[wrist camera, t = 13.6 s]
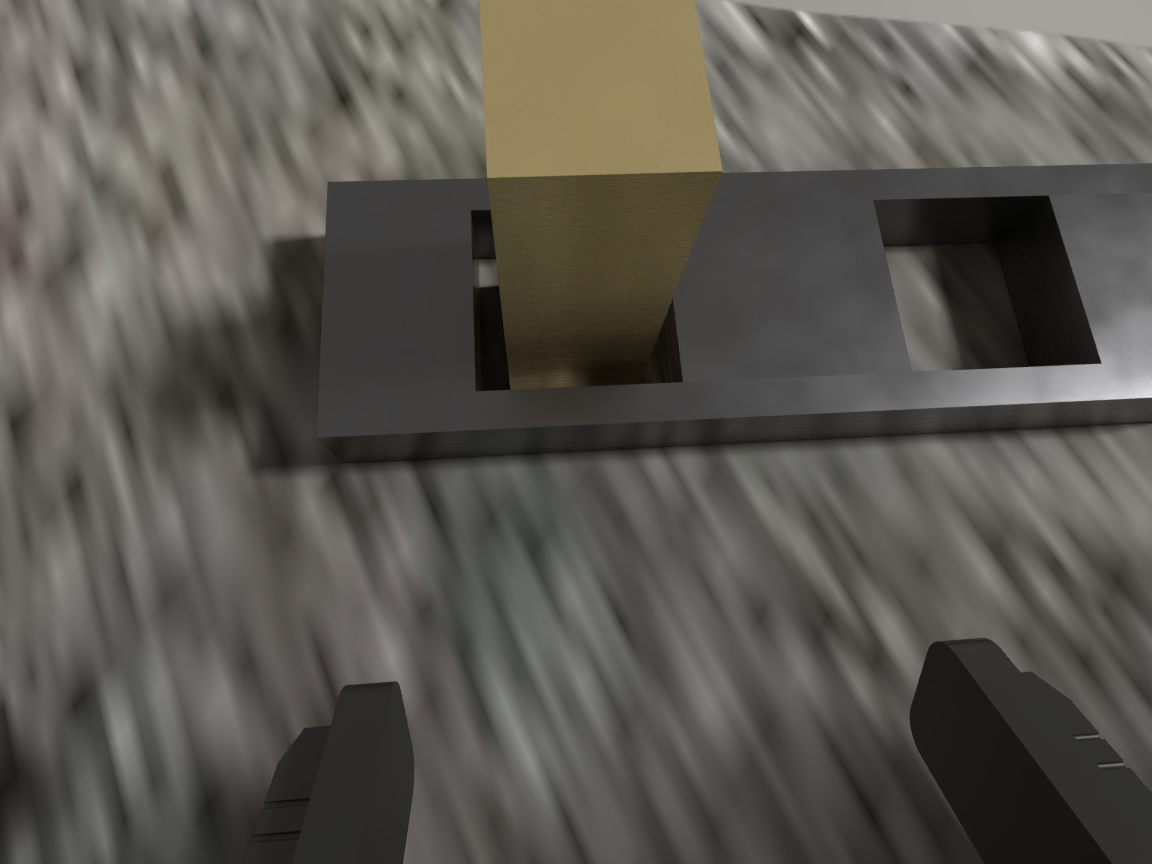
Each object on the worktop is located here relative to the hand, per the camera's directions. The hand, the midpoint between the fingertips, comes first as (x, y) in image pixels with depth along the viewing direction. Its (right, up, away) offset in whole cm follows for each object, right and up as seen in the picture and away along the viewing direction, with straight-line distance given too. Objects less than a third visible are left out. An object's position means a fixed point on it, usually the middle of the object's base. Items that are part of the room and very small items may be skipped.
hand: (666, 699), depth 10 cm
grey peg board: (+5, +8, +15) cm, 18 cm away
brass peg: (-2, +8, +15) cm, 17 cm away
